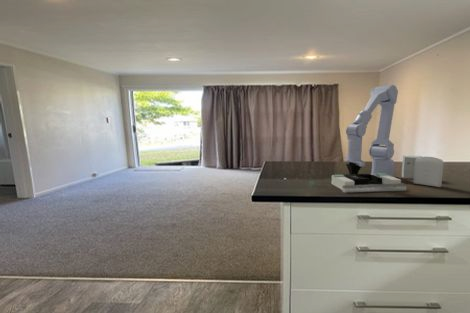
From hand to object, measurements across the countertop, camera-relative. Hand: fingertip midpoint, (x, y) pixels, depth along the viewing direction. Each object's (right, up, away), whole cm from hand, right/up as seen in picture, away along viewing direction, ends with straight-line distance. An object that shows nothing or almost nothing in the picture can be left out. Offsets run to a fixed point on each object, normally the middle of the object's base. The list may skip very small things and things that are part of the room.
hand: (353, 179), depth 125 cm
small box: (+31, 0, +6) cm, 32 cm away
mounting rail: (+1, -3, -16) cm, 16 cm away
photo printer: (+29, -2, -8) cm, 30 cm away
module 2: (+11, -2, -8) cm, 14 cm away
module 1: (-9, -3, -10) cm, 14 cm away
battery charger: (+1, -2, -6) cm, 6 cm away
